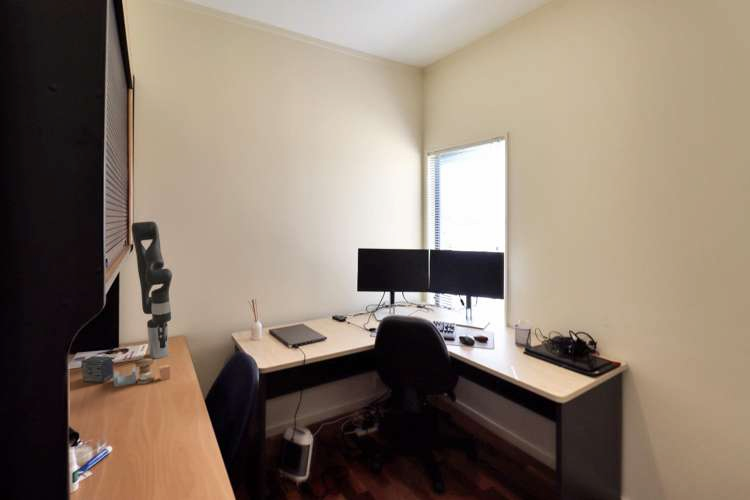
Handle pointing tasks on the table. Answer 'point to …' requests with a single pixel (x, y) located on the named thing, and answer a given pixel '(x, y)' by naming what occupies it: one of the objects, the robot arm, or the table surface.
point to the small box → (97, 369)
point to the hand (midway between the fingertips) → (163, 344)
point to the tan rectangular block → (164, 372)
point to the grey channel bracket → (124, 378)
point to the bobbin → (144, 371)
